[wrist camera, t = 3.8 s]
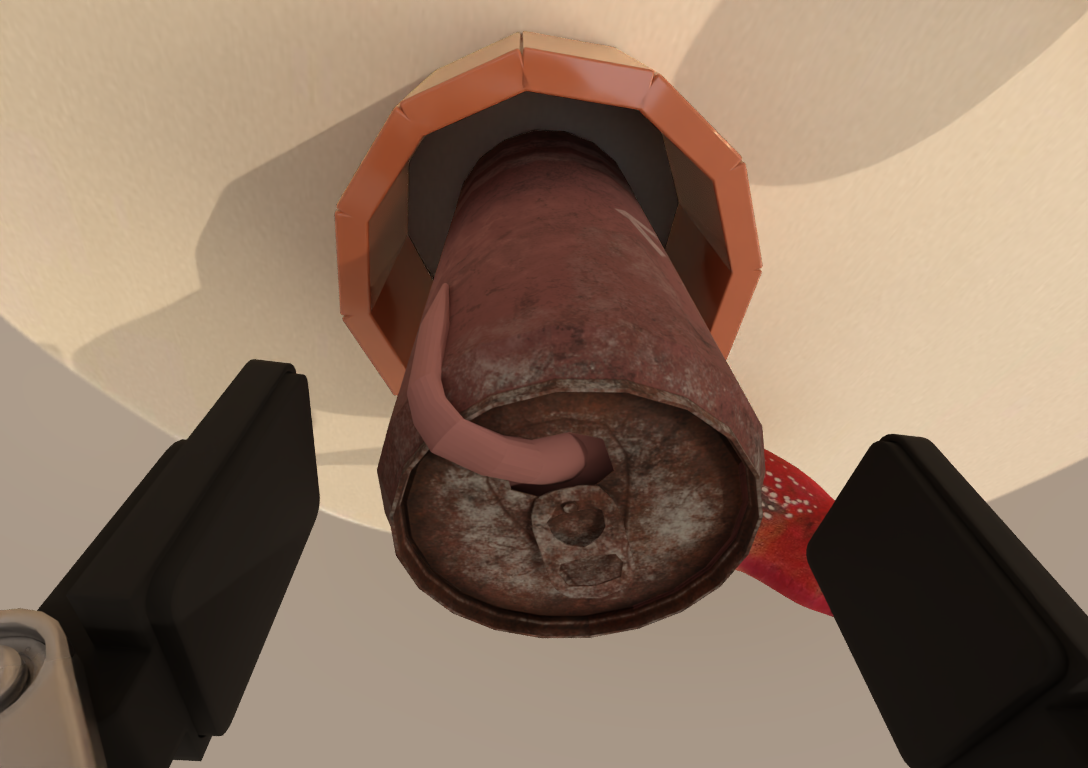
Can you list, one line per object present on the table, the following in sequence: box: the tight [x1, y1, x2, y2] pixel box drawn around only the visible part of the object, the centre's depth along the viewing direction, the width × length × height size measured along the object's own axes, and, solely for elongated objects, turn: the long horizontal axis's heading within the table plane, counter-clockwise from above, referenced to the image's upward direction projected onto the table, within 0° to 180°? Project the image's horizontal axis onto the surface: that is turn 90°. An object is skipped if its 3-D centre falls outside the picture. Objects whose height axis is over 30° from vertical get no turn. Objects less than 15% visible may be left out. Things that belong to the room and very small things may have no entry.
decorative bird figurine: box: [735, 449, 835, 617], centre depth 20 cm, size 3×18×10 cm, turn 85°
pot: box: [334, 31, 763, 395], centre depth 17 cm, size 11×11×6 cm
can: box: [377, 130, 766, 638], centre depth 14 cm, size 6×6×14 cm
